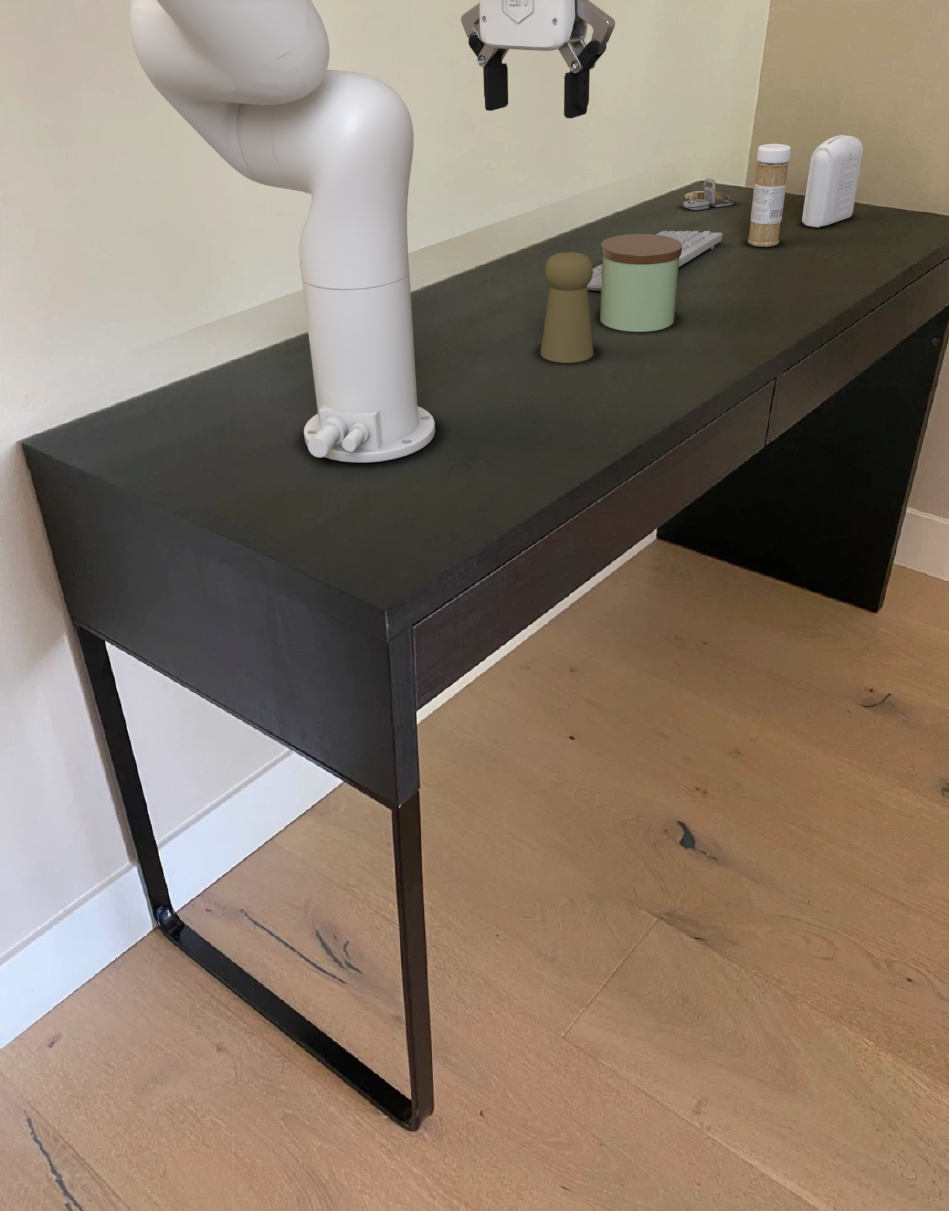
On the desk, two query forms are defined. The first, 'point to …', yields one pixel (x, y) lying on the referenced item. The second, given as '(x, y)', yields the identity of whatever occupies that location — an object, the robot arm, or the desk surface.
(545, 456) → the desk surface
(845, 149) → the white plastic container
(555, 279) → the brown tapered tall piece
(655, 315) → the canister
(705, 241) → the keyboard
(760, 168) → the sprinkles bottle
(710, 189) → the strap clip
